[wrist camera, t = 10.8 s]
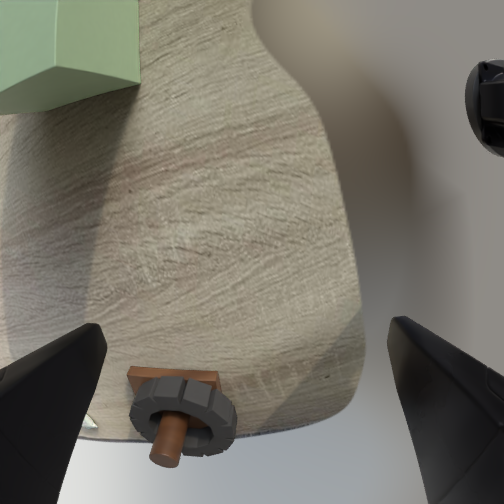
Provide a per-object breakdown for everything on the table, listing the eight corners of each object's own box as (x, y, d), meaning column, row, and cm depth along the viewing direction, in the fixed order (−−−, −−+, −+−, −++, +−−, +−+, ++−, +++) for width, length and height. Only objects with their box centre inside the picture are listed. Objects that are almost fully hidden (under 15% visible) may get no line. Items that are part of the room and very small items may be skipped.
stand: (217, 370, 25) (203, 440, 18) (229, 426, 28) (220, 486, 22) (130, 365, 26) (101, 425, 19) (153, 420, 29) (134, 474, 22)
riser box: (139, -9, 14) (67, -63, 6) (141, 84, 17) (55, 67, 9) (44, 28, 15) (-41, 10, 7) (45, 111, 18) (-49, 122, 9)
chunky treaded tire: (227, 376, 24) (223, 398, 21) (242, 439, 27) (240, 458, 25) (123, 373, 25) (114, 392, 22) (155, 434, 28) (149, 451, 26)
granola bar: (100, 425, 30) (97, 431, 29) (88, 425, 31) (85, 431, 30) (64, 386, 28) (60, 392, 27) (53, 387, 29) (49, 393, 28)
